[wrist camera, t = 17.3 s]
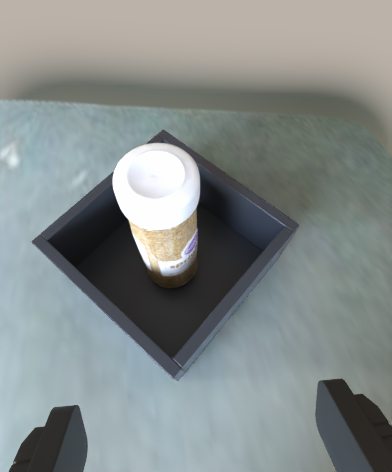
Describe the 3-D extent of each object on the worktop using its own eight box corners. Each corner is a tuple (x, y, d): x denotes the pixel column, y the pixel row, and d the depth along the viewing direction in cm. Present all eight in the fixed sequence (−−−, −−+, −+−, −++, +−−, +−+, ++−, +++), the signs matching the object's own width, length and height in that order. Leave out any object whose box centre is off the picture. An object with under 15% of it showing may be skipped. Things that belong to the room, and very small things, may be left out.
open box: (168, 176, 34) (163, 129, 28) (278, 258, 30) (299, 224, 24) (65, 272, 30) (30, 241, 23) (178, 381, 26) (172, 378, 20)
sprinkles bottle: (191, 294, 28) (189, 222, 16) (139, 283, 28) (97, 203, 16) (203, 245, 30) (208, 147, 18) (154, 235, 30) (126, 132, 18)
